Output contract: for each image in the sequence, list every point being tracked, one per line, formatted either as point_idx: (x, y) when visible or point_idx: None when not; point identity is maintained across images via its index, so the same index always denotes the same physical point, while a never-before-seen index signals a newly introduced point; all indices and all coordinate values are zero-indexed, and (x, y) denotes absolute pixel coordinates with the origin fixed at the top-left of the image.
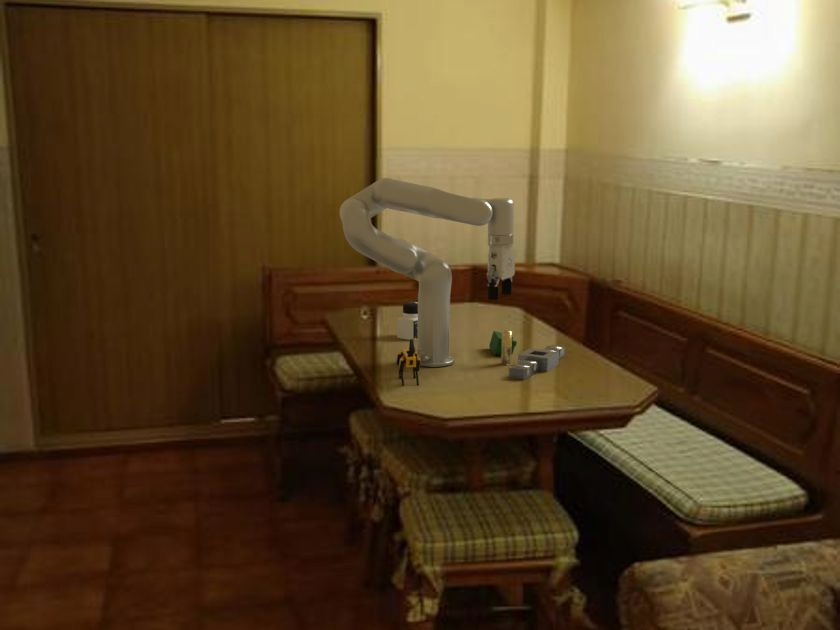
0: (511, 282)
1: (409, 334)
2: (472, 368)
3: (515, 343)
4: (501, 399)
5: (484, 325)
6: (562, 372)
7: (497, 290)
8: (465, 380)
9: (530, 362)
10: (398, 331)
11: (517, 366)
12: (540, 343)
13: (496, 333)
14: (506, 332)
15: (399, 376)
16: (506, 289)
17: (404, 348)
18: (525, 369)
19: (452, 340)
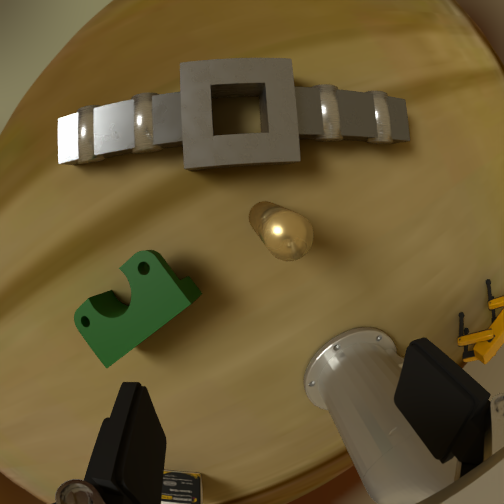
0: (112, 476)
1: (201, 486)
2: (361, 269)
3: (149, 251)
4: (491, 115)
5: (7, 414)
6: (260, 40)
7: (468, 381)
8: (448, 226)
9: (336, 102)
10: (202, 498)
11: (390, 124)
12: (5, 257)
13: (127, 347)
14: (311, 228)
15: (468, 331)
16: (151, 445)
17: (490, 357)
18: (395, 98)
19: None
